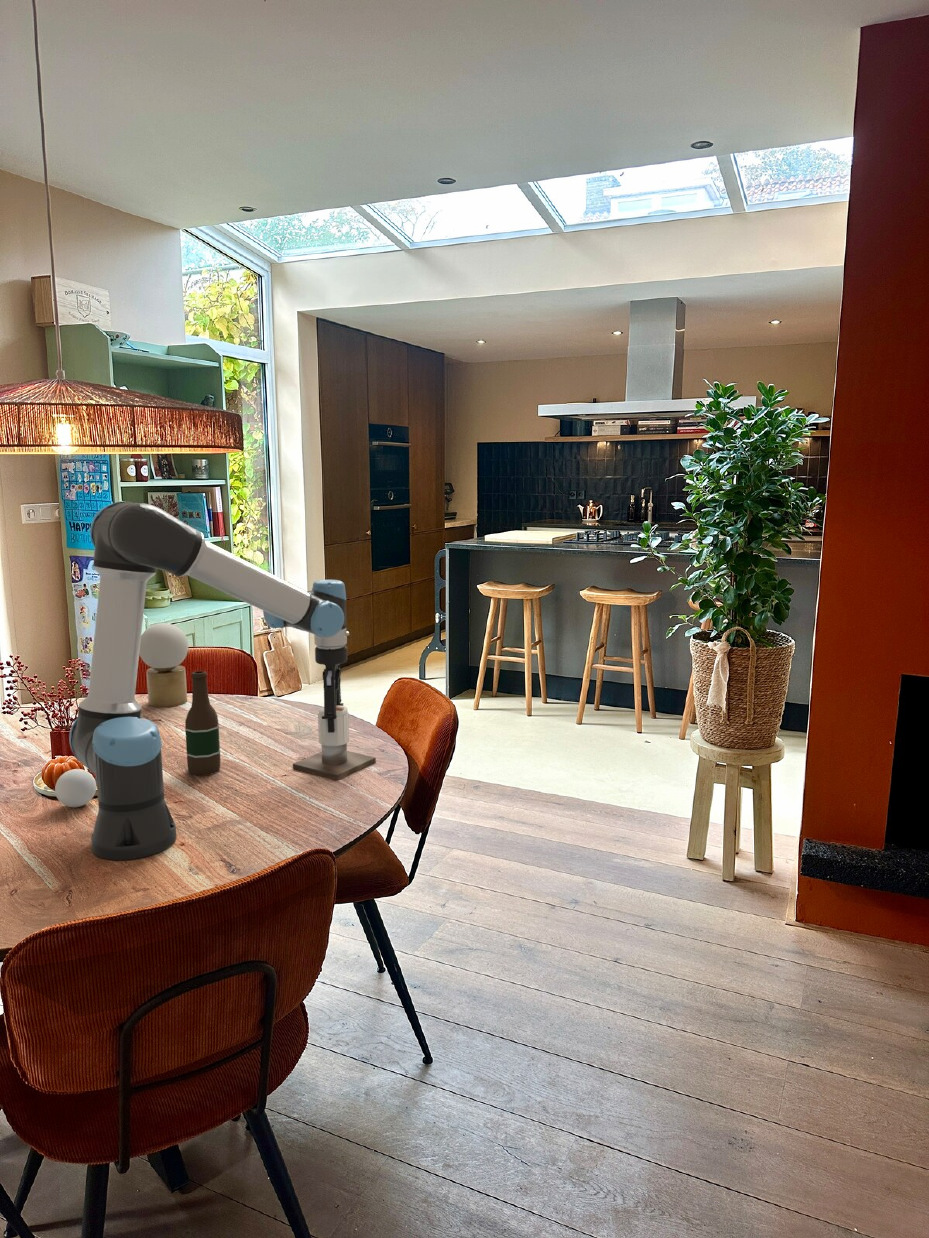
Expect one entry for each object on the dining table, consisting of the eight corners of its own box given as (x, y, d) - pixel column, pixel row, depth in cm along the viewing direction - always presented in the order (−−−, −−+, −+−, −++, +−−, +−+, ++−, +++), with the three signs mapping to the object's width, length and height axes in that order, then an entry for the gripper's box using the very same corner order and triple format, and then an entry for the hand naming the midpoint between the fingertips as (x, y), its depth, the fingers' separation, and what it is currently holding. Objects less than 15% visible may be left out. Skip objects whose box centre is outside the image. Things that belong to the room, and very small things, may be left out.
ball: (52, 814, 174) (48, 778, 173) (61, 800, 182) (58, 765, 181) (93, 811, 176) (90, 775, 175) (101, 797, 184) (98, 762, 182)
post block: (337, 779, 194) (336, 733, 192) (292, 768, 201) (291, 724, 199) (375, 762, 205) (374, 718, 203) (332, 752, 213) (330, 709, 211)
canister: (314, 744, 200) (313, 709, 198) (327, 735, 206) (326, 701, 205) (340, 747, 198) (339, 711, 196) (353, 738, 204) (352, 704, 203)
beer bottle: (211, 777, 195) (205, 676, 191) (181, 774, 197) (174, 675, 193) (227, 765, 203) (222, 668, 199) (197, 763, 205) (192, 667, 200)
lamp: (189, 709, 251) (184, 626, 246) (139, 712, 248) (133, 628, 243) (193, 696, 265) (188, 617, 261) (146, 698, 262) (140, 619, 258)
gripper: (342, 654, 188) (345, 752, 192) (350, 637, 208) (353, 726, 212) (309, 655, 188) (312, 753, 192) (320, 637, 208) (323, 726, 212)
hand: (333, 739), depth 202 cm, fingers closed on canister, 7 cm apart
